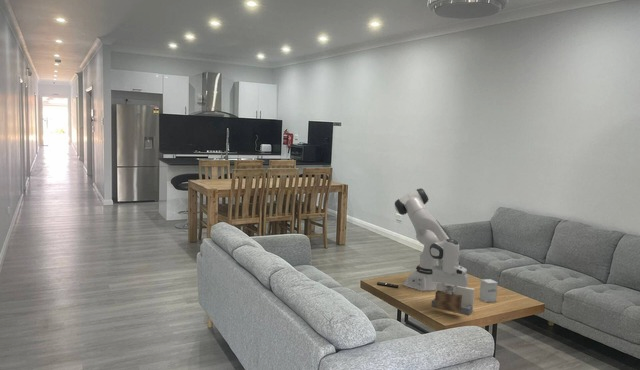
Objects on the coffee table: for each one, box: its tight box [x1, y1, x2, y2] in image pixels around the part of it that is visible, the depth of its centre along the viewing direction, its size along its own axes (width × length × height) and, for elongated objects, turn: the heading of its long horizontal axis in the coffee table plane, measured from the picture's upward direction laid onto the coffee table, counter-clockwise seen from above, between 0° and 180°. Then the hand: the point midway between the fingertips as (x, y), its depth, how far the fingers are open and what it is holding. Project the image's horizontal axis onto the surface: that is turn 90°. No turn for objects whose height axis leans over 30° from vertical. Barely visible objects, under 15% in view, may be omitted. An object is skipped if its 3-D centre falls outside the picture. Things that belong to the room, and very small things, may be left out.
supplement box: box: [479, 278, 499, 303], centre depth 291 cm, size 7×7×13 cm
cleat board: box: [431, 282, 476, 316], centre depth 275 cm, size 22×9×13 cm, turn 58°
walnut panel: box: [434, 286, 462, 314], centre depth 265 cm, size 14×4×13 cm, turn 58°
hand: (448, 291), depth 265 cm, fingers closed on walnut panel, 3 cm apart
